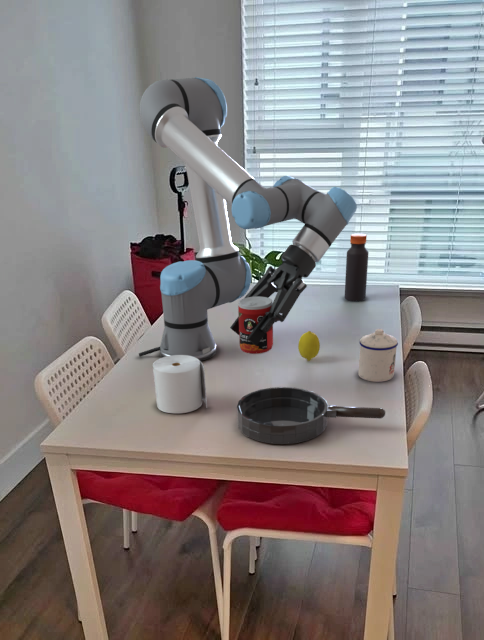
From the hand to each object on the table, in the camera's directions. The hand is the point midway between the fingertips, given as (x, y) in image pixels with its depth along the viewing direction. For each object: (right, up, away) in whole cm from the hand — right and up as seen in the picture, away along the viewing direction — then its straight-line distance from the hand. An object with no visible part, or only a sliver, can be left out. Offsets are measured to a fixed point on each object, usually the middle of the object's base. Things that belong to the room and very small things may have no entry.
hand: (243, 336), depth 153 cm
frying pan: (+8, -21, -8) cm, 24 cm away
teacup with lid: (+33, -6, +14) cm, 37 cm away
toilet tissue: (-14, -15, +3) cm, 21 cm away
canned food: (+3, -2, +3) cm, 5 cm away
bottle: (+37, +27, +67) cm, 81 cm away
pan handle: (+23, -19, -11) cm, 33 cm away
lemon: (+17, -2, +23) cm, 29 cm away
